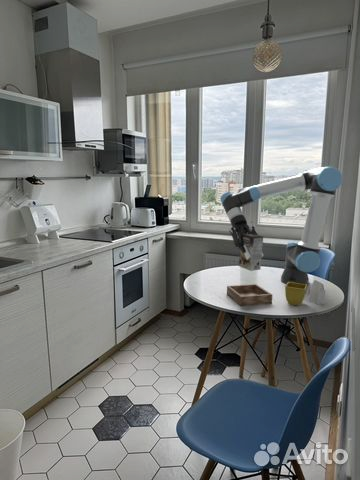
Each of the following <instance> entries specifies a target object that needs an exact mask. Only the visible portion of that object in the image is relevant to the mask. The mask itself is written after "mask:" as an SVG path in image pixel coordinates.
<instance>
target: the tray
mask: <svg viewBox="0 0 360 480" xmlns="http://www.w3.org/2000/svg"><path fill="white" fill-rule="evenodd" d="M226 296H228V297H229V298H230V299H232V301H233V302H235V303H236V304H237V305H238V306H240V307H248V306H249V307H250V306H261V305H270V304H271V305H272V304H273V293H271V292H269V291H268V290H266V289H264V288H263V287H262V286H260V285H259V284H257V283H250V284H248V283H247V284H238V285H236V284H235V285H226Z"/></svg>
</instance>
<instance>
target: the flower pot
mask: <svg viewBox="0 0 360 480" xmlns="http://www.w3.org/2000/svg"><path fill="white" fill-rule="evenodd" d="M285 284H286V285H285V286H284V290H285V291H284V292H285V293H284V294H285V300H286V302H287V303H288V304H289V305H293V306H298V307H300V306H301V304H302V303H303V300H304V299H305V296H306V294H307V287H308V284H300V283H294V282H288V283H285Z"/></svg>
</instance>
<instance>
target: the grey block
mask: <svg viewBox="0 0 360 480" xmlns="http://www.w3.org/2000/svg"><path fill="white" fill-rule="evenodd" d="M309 287H310V288H309V298H308V300H310V301H311V302H312V303H314V304H316V305H325V301H326V300H325V299H326V289H325V286H324V283H323V282H320V281H318V280H316V279H313V282H312V283H311V286H309Z"/></svg>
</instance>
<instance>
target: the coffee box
mask: <svg viewBox="0 0 360 480" xmlns="http://www.w3.org/2000/svg"><path fill="white" fill-rule="evenodd" d="M241 237H242V239H243V243H244V245H246V247H247V249H248V252H249V254H250V256H251V257H250V258H249V259H248V260H247V259H246V257H245V255H244V253H242V251H241V249H239V261H238V266H239V267H240V268H242V269H245V270H248V271H250V272H253V271H259V270H261V269H262V268H261V267H262V258H263V257H262V253H263V245H264V236H262V235H259V234H258V235H255V234H251V233H250V234H241ZM244 245H243V246H244ZM261 257H262V258H261Z"/></svg>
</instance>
